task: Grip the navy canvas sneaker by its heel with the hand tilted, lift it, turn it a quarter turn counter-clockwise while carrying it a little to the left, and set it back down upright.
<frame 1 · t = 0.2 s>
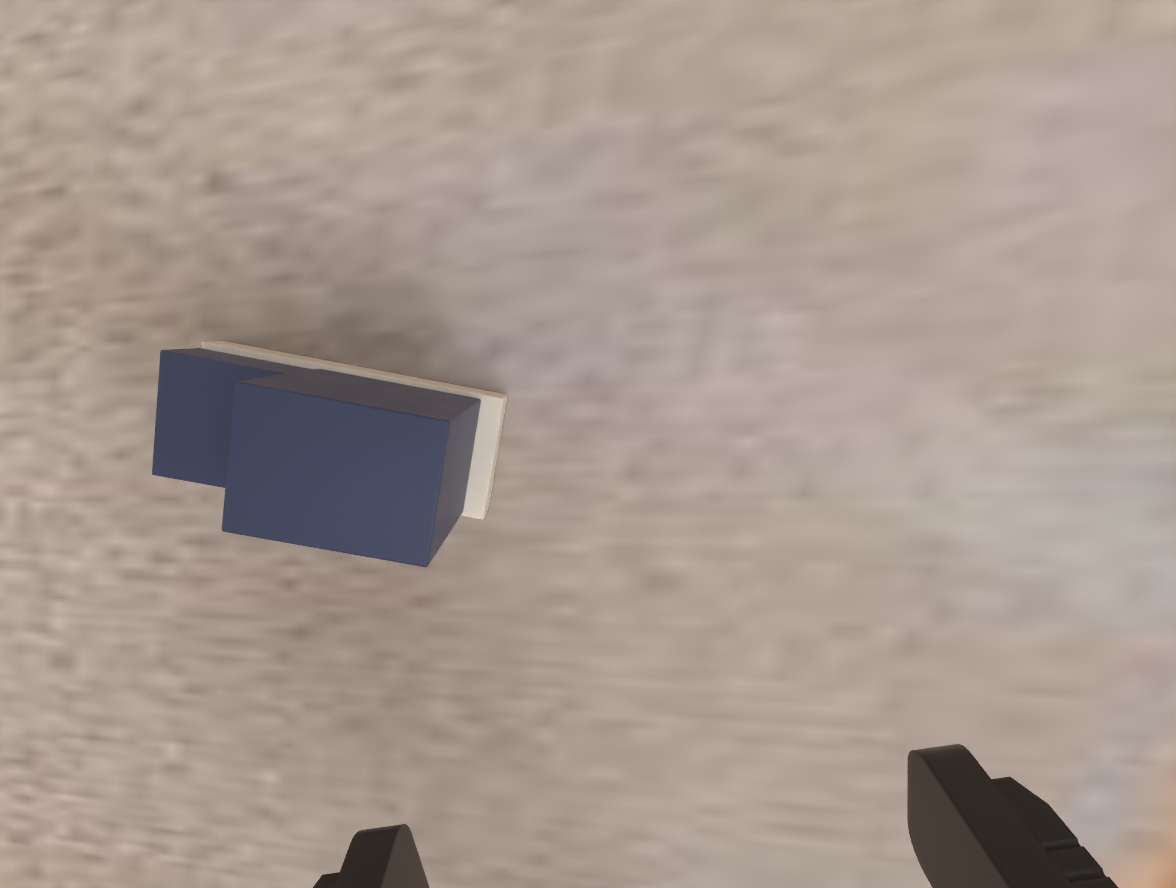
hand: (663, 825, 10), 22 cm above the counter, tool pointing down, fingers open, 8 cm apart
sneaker: (359, 427, 32), on the counter
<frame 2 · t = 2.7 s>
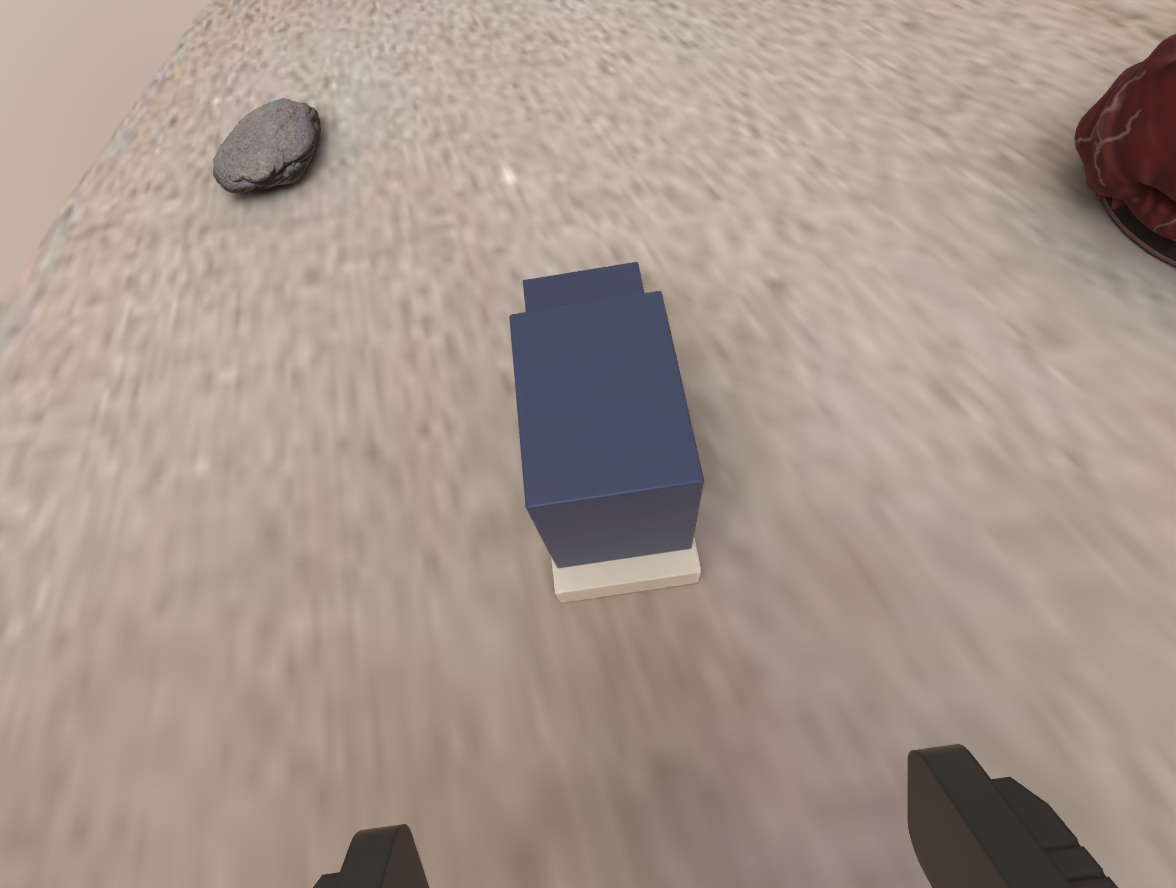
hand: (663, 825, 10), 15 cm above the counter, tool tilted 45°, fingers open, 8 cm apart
stone: (277, 162, 42), on the counter
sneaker: (607, 448, 30), on the counter
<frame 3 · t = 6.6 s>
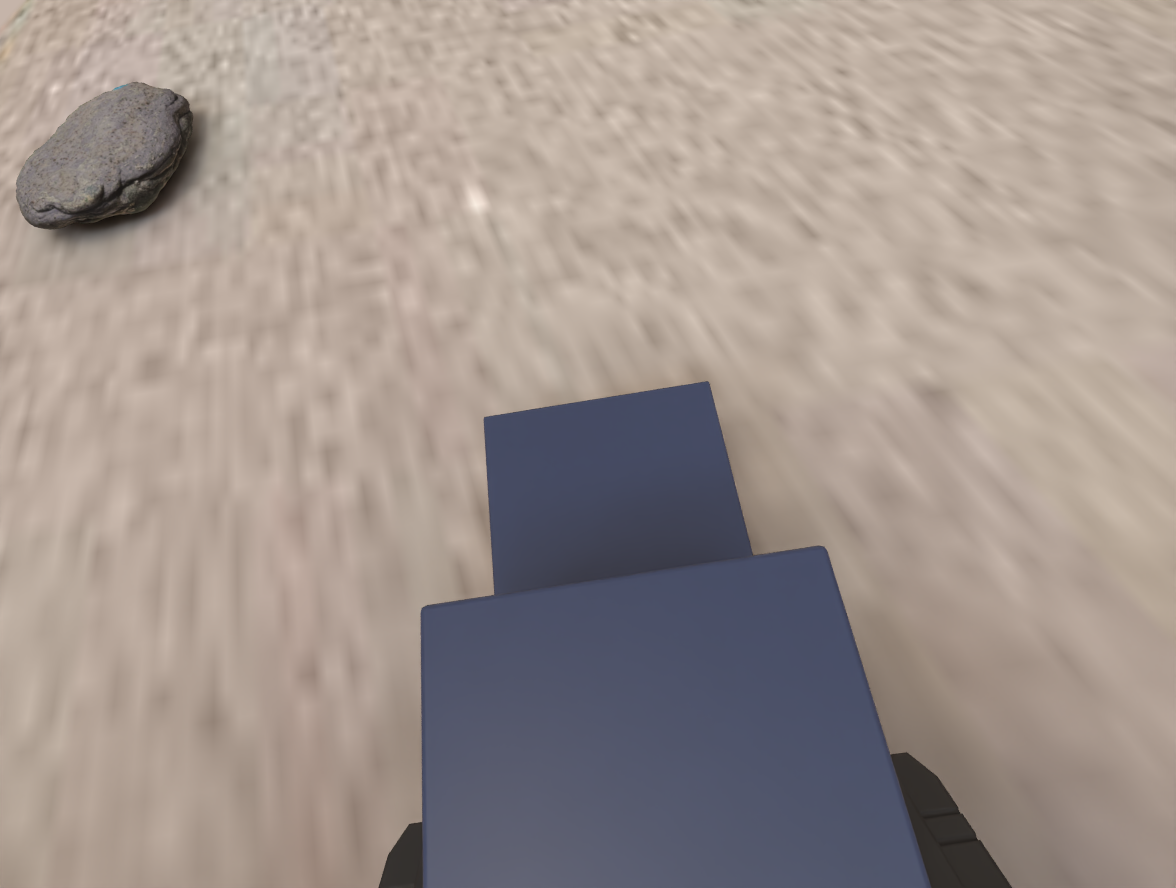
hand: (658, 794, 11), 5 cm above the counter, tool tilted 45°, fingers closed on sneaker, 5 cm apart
stone: (128, 179, 28), on the counter
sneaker: (647, 728, 16), on the counter, touching gripper
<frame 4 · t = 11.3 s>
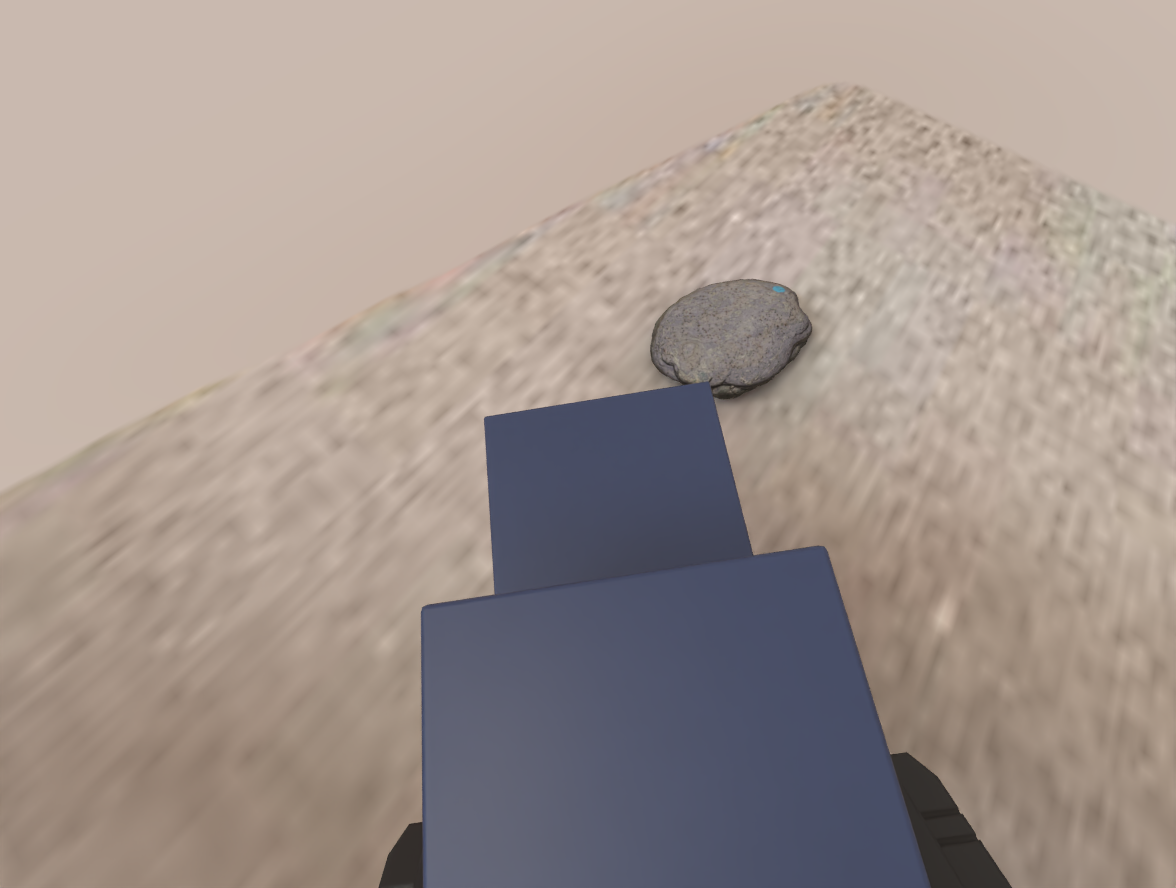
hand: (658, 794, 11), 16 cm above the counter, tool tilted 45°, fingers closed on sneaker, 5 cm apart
stone: (726, 347, 33), on the counter
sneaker: (648, 728, 16), point 11 cm above the counter, touching gripper
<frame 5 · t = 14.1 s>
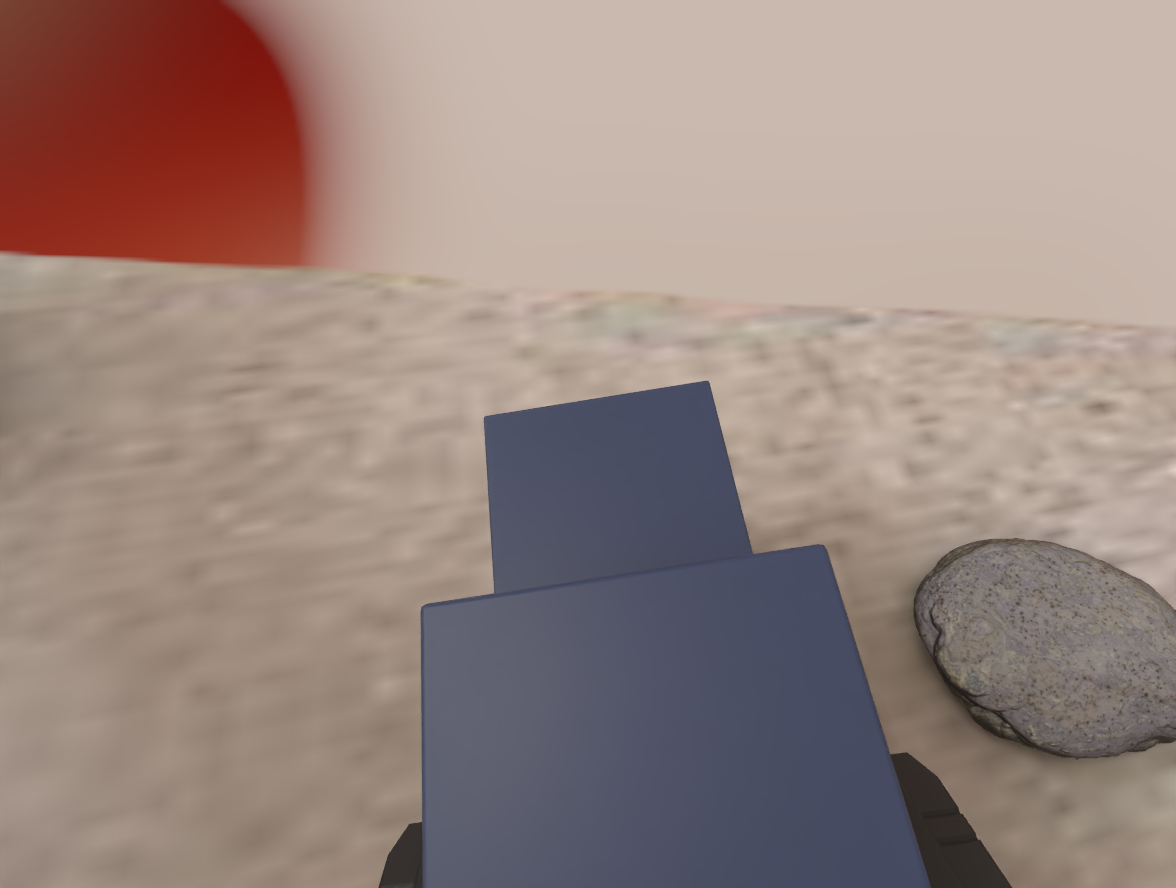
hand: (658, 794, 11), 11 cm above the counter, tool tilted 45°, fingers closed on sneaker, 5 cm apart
stone: (1033, 645, 21), on the counter
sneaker: (647, 727, 16), point 6 cm above the counter, touching gripper
when the fingers open (5 cm above the counter, at t = 16.2 s): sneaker stays where it is, on the counter.
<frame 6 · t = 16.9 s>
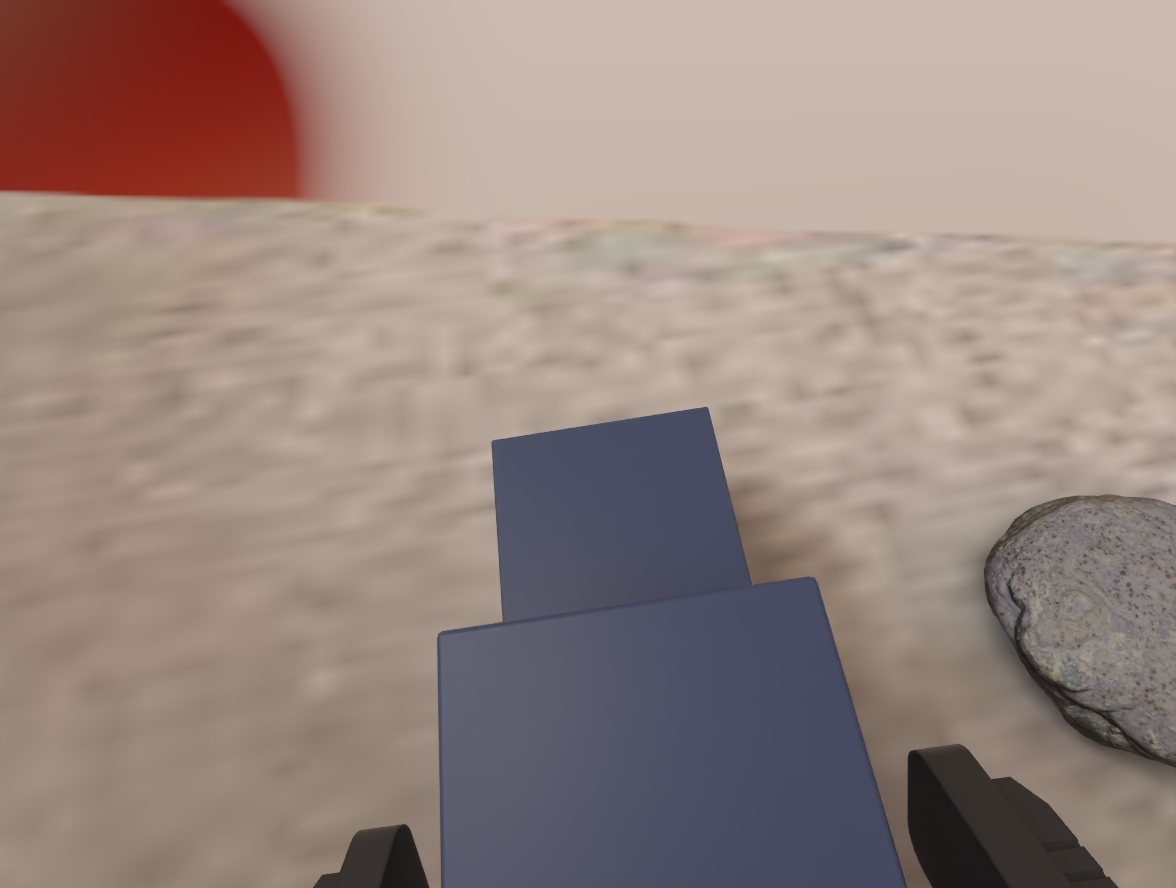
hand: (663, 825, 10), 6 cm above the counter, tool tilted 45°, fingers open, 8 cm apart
stone: (1134, 629, 17), on the counter
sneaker: (648, 739, 16), on the counter
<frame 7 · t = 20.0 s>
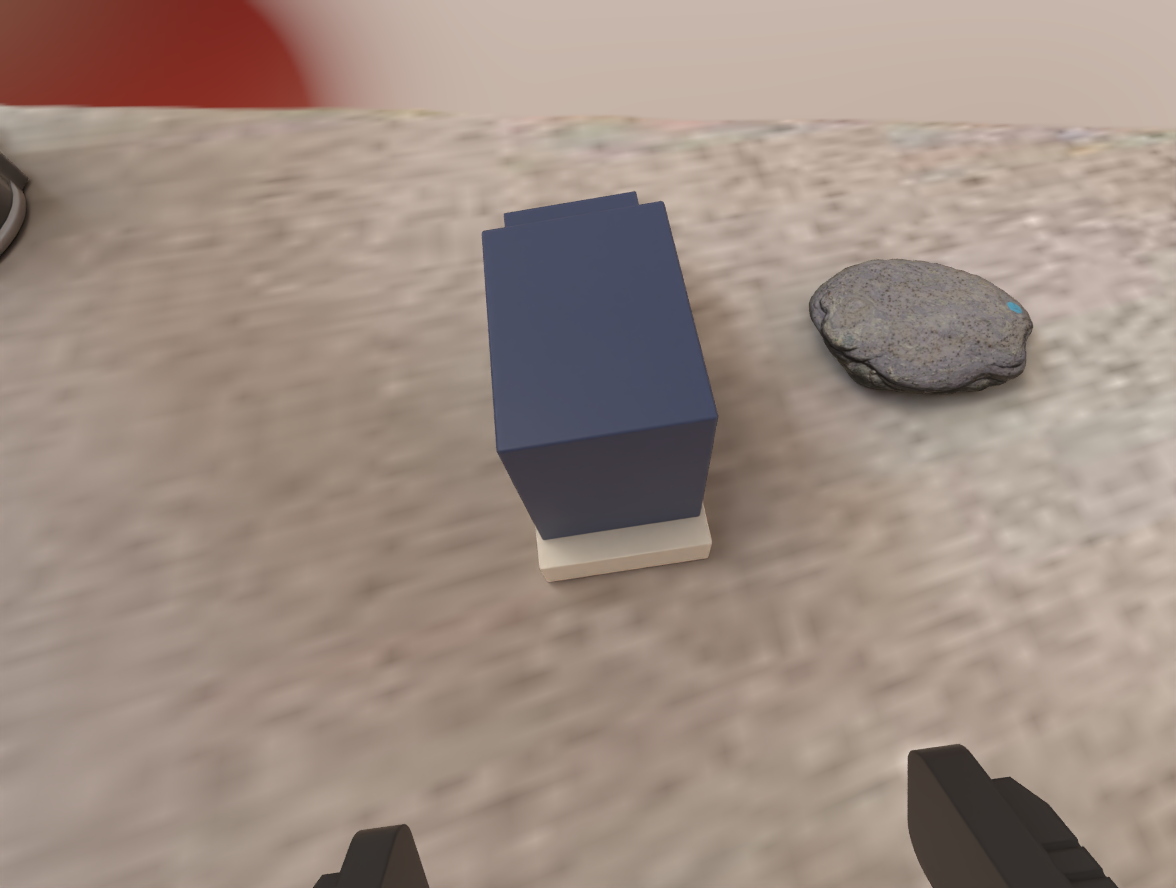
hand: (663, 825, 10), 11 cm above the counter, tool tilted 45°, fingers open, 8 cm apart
stone: (906, 340, 27), on the counter
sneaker: (601, 407, 26), on the counter
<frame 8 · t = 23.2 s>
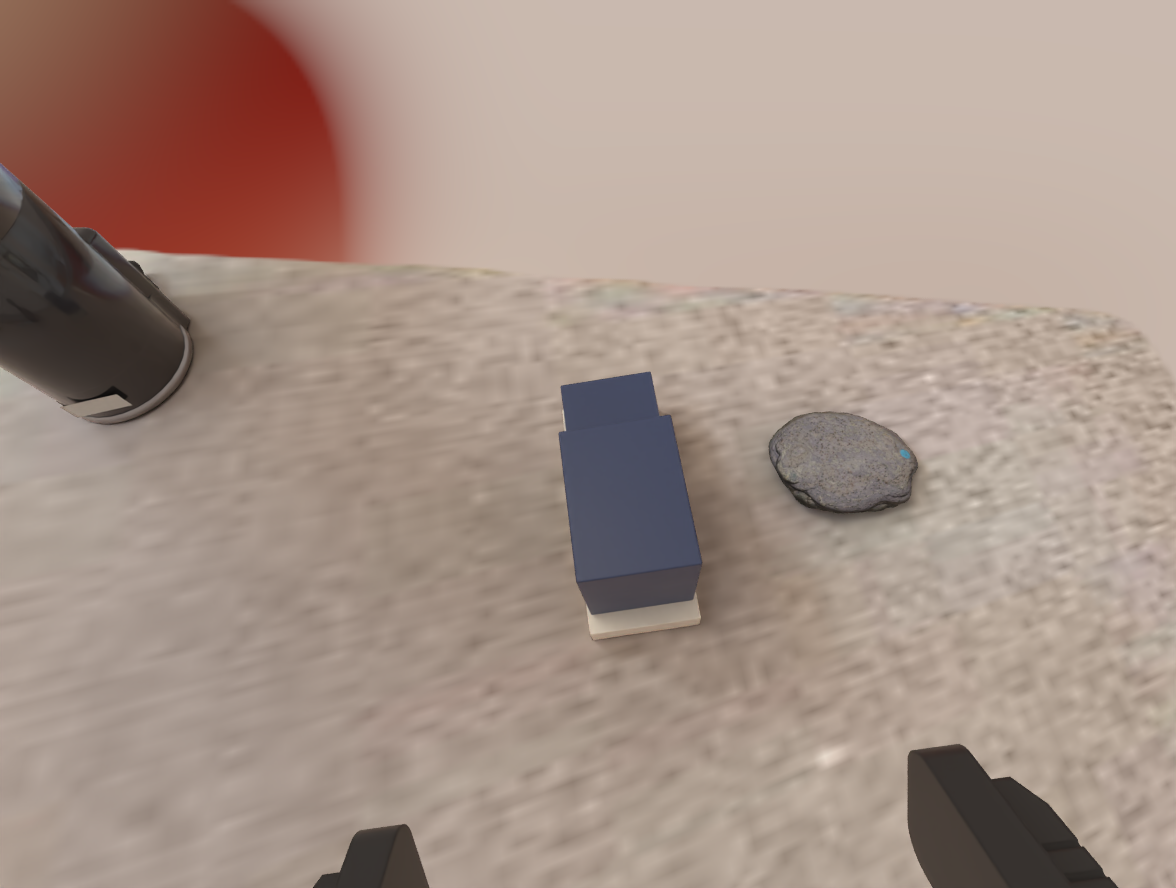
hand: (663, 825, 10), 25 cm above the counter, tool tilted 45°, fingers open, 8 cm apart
stone: (836, 468, 39), on the counter
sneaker: (626, 515, 38), on the counter
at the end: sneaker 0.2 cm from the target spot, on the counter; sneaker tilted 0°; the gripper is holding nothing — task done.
